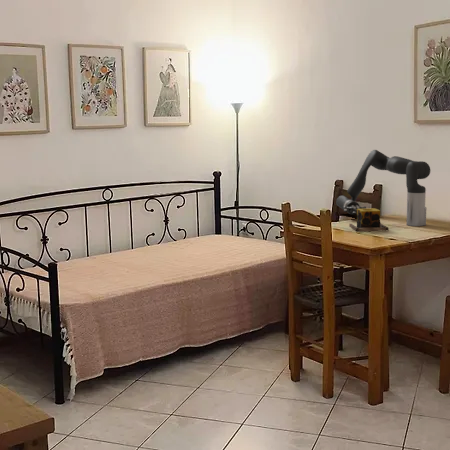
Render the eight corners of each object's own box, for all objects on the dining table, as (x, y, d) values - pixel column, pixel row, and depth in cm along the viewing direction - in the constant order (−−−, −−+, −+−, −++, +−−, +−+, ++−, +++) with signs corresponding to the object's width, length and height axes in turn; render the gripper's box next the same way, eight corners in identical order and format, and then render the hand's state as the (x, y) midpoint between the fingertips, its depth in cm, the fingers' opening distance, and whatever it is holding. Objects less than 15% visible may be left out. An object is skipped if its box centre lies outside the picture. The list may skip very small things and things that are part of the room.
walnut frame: (380, 225, 366) (380, 222, 366) (388, 230, 351) (388, 227, 351) (349, 226, 365) (349, 223, 365) (356, 231, 350) (356, 228, 350)
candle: (380, 230, 353) (381, 210, 351) (361, 230, 353) (361, 211, 351) (375, 227, 363) (375, 208, 362) (356, 227, 363) (356, 208, 361)
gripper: (340, 200, 394) (346, 204, 377) (363, 200, 394) (371, 204, 377) (339, 213, 395) (346, 218, 378) (362, 213, 396) (370, 217, 379)
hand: (358, 211), depth 378 cm, fingers closed
